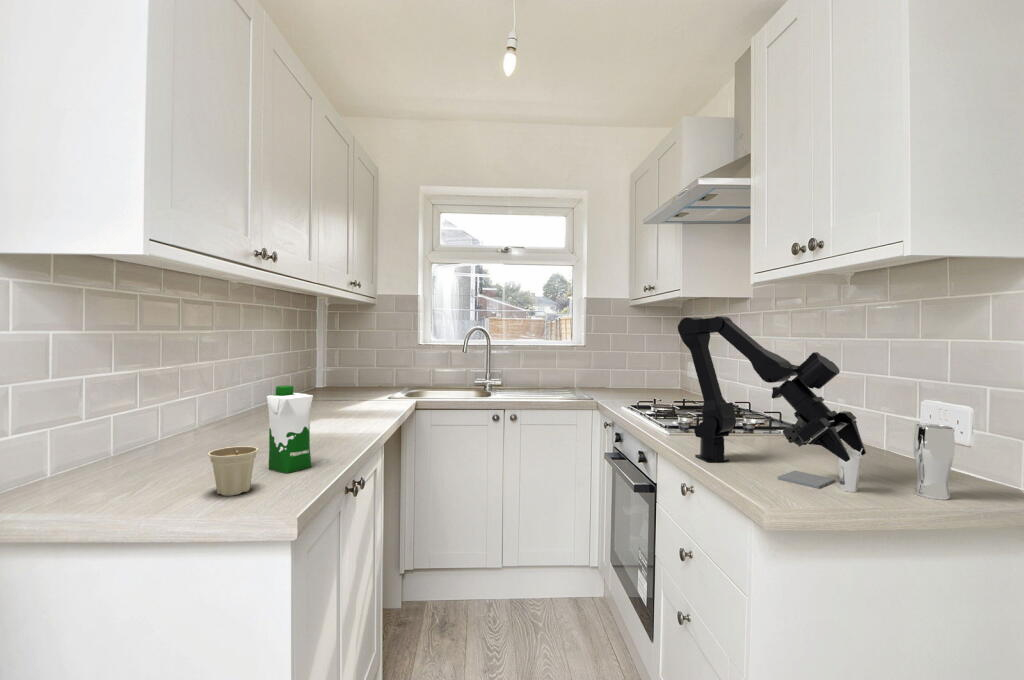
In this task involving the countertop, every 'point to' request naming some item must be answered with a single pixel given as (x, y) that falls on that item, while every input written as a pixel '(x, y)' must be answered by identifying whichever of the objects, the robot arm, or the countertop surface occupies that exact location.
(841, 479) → the milkshake
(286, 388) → the milk carton
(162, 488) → the countertop surface
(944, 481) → the beer glass
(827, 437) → the robot arm
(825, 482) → the coaster
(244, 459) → the flower pot
